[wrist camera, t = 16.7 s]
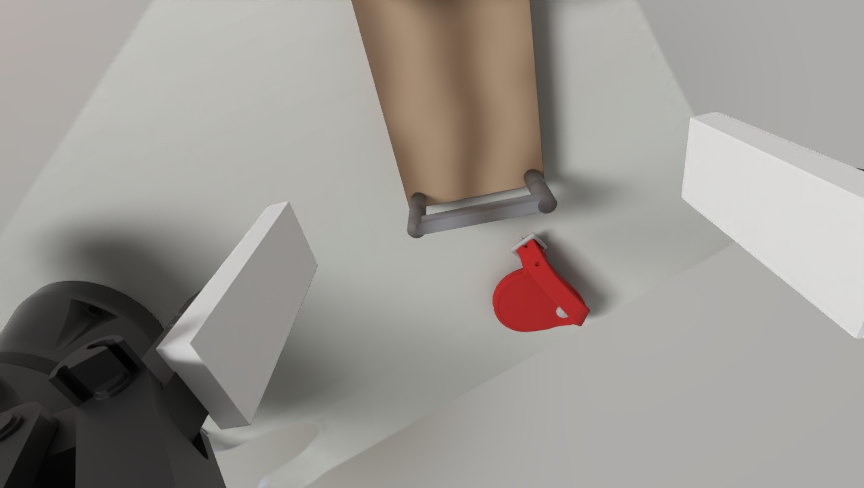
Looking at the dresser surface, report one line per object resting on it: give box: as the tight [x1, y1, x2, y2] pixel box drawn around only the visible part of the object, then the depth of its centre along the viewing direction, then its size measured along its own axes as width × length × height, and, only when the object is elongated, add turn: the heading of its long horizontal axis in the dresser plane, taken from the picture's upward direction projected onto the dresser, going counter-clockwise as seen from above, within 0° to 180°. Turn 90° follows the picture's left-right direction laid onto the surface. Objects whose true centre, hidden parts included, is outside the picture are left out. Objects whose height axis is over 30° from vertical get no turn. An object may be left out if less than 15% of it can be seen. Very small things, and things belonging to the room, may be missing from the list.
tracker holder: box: [493, 233, 590, 332], centre depth 41 cm, size 12×4×10 cm
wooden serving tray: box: [351, 0, 557, 238], centre depth 29 cm, size 12×19×8 cm, turn 12°
